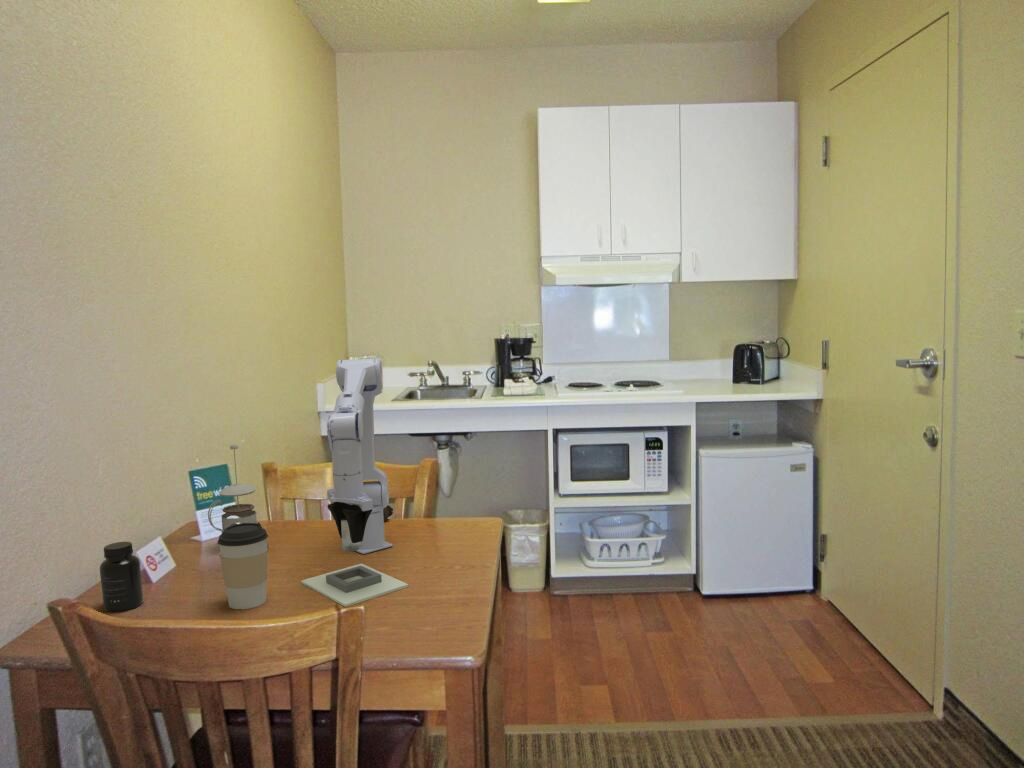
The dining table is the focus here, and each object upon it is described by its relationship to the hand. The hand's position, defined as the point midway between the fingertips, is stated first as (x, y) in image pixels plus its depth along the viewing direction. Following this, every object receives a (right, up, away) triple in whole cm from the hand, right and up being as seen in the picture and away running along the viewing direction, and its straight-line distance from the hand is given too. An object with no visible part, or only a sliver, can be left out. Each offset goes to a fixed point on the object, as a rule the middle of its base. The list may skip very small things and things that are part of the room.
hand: (351, 539), depth 149 cm
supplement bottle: (-42, -12, -6) cm, 44 cm away
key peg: (0, -2, 0) cm, 2 cm away
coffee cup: (-18, -11, -6) cm, 22 cm away
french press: (-33, -8, +27) cm, 44 cm away
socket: (0, -9, +1) cm, 9 cm away
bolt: (-4, -6, +44) cm, 45 cm away
